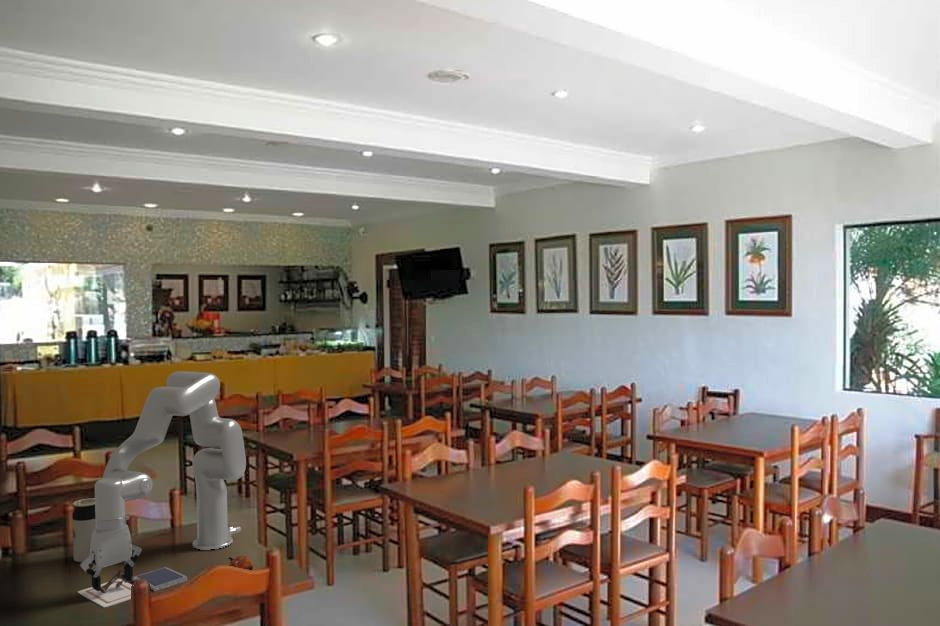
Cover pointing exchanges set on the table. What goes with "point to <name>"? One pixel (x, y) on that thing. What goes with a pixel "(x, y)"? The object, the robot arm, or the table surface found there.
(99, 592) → the marked card
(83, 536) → the travel mug
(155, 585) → the ink pad
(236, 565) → the pomegranate
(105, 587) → the wooden post with brackets
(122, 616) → the table surface
